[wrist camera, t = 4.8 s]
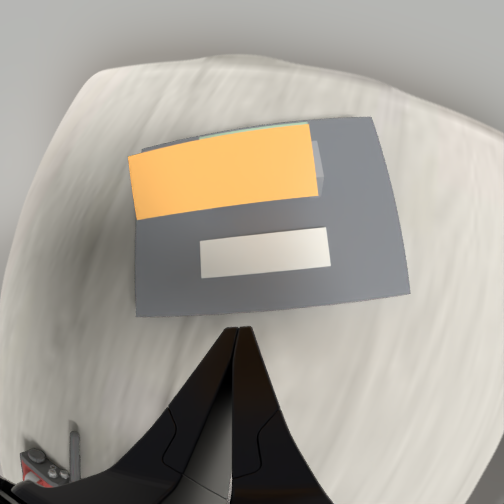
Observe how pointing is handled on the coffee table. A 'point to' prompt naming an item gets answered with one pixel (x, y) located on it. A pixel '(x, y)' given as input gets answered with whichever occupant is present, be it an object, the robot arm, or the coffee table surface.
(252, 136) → the breaker lever
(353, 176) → the box
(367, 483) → the coffee table surface
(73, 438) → the walkie-talkie
